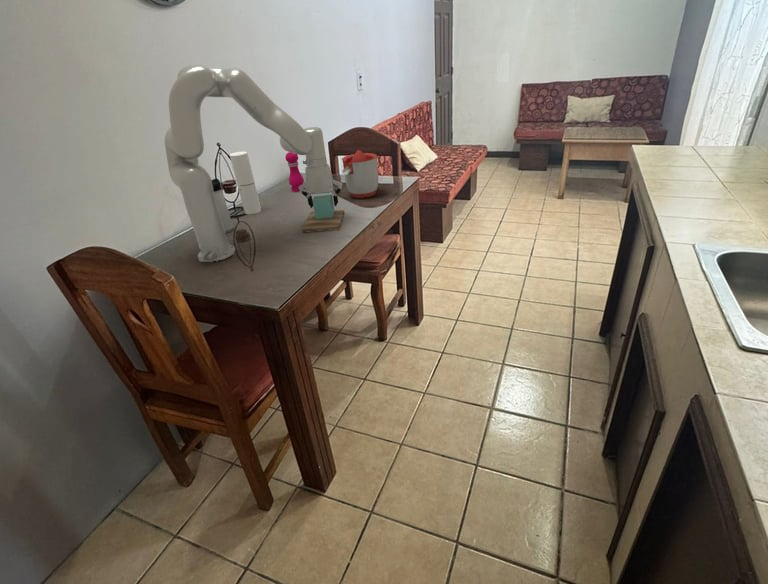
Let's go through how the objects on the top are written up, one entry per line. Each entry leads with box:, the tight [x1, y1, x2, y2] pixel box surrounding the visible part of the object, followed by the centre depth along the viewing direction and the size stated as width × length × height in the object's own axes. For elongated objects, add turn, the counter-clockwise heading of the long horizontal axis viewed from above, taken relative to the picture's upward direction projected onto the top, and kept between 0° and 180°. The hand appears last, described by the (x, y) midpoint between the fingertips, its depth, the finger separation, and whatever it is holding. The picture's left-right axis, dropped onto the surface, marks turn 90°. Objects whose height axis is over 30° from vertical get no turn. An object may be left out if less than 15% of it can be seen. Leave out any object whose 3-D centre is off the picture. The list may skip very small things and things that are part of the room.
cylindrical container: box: [229, 151, 262, 215], centre depth 179 cm, size 7×7×25 cm
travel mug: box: [211, 178, 234, 234], centre depth 163 cm, size 6×7×20 cm
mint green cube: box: [312, 193, 336, 219], centre depth 167 cm, size 7×7×8 cm
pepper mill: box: [285, 151, 305, 193], centre depth 203 cm, size 7×7×20 cm
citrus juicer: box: [341, 149, 379, 199], centre depth 187 cm, size 16×17×20 cm
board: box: [302, 209, 345, 233], centre depth 166 cm, size 18×14×2 cm
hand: (323, 206), depth 167 cm, fingers open, 9 cm apart
